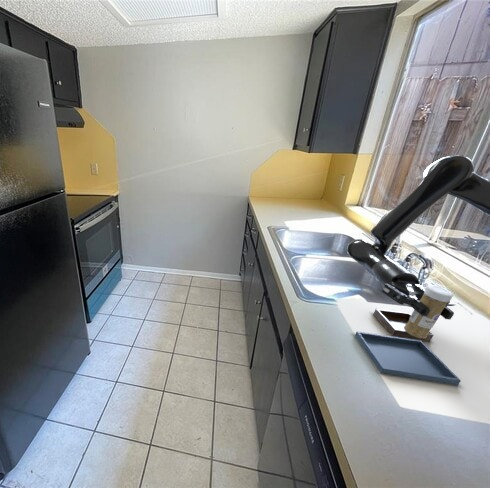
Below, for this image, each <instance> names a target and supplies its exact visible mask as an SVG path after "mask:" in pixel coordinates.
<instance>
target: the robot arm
mask: <svg viewBox="0 0 490 488" xmlns="http://www.w3.org/2000/svg"><path fill="white" fill-rule="evenodd" d="M446 195H449V196H451V197H454V198H457V199H459V200H461V201H463V202H466V203H467V204H468V205H471V206H472V207H474V208H475V209H477V210H479V211H480V212H482V213H483V214H485V215H486V216H489V217H490V180H489V179H488V178H485V177H483V176H482V175H479V174H478V173H476V172H475V164H474V162H473V160H472V159H470V158H469V157H467V156H464V155H449V156H446V157H445V156H444V157H442V158H440V159H438V160H436V161H434V162H433V163H431V164H430V165H428V166H427V167H426V169H425V170H424V172H423V180H422V181H421V182H420V183H419V185H418V186H417V187H416V188H414V190H413V191H412V192H411V193H410V194H409V195H408V196H407V197H406V198H404V199H403V200H402V201H401V202H399V204H398V205H396V206H395V207H394V208H393V209H391V210H390V211H389V212H387V214H386V215H384V217H382V219H380V220H379V221H378V222H377V223H376V224H375V225H374V226H373V228H372V229H371V230H370V235H371V236H372V237H373V238H374V239H375V240H374V242H373V244H372V243H370V242H368V241H366V240H365V239H361V238H358V239H353V240H351V241H350V242H349V243H348V244H347V247H346V253H347V255H348V257H350V258H351V259H352V260H354V261H355V262H356V263H358V264H360V265H361V266H362V267H363V268H364V269H366V271H367V272H368V273H370V275H372V276H373V278H374V279H375V281H376V282H378V283H379V284H380V286H381V287H382V289H381V291H380V292H381V293H383V294H384V295H386V296H387V297H389V299H391V300H393V301H395V302H396V303H397V304H400V305H406V306H407V307H410V308H412V309H413V310H414V309H415V310H416V311H417V312H418V313H419V314H421V315H422V316H427V315H428V314H429V312H430V309H429V308H428V307H427V306H425V305H424V304H423V303H422V302H421V301H420V300H421V298H422V296H423V295H424V291H425V289H426V287H424V286H423V285H421V283H420V281H419V278H418V276H416V275H415V274H414V273H413V272H411V271H410V270H408V268H406V267H404V266H403V265H402V264H400V263H399V262H397V261H394V259H392V258H391V257H389V256H388V255H387V252H388V251H389V249H390V247H391V246H392V244H393V243H394V241H395V240H397V238H398V237H400V236H401V235H402V234H403V233H404V232H405V231H407V229H408V228H410V226H411V225H413V224H414V223H415V222H416V221H417V220H418V219H419V218H420V217H421V216H422V215H423V214H424V213H425V212H426V211H427V210H429V209H430V208H431V207H432V206H433V205H435V204H436V203H438V201H440V200H441V199H442V198H443V197H446ZM398 297H399V298H398ZM450 303H451V300H450V301H449V302H448V303H447V304H446V306H445V307H444V309H443V311H442V312H441V314H440V316H441V317H442V318H443V319H445V320H451V319H452V318H453V317H454V315H455V312H454V311H453V310H451V309H450V308H449V307H448V305H449V304H450Z"/></svg>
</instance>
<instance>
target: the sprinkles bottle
mask: <svg viewBox="0 0 490 488" xmlns="http://www.w3.org/2000/svg"><path fill="white" fill-rule="evenodd" d="M425 288H426V289H425V291H424V295H423V296H422V298H421V300H420V301H421V302H422V303H423V304H424V305H425V306H427V307H428V308H429V309H430V312H429V314H428V315H427V316H422V315H421V314H419V313H418V312H417V311H416V310H415V309H413V311H412V313H411V316H410V318H409V321H408V323H407V324H406V325H405V326H404V329H405V331H406V332H407V333H409V334H410V335H412V336H414V337H417V338H426V337H427V335H428V333H429V331H430V332H431V330H432V328H433V327H434V326H435V324H436V323H437V321H438V319H439V318H440V316H441V315H440V314H441V312H442V311H443V309H444V307H445V306H446V304H447V303H448V302H449V301H450V302H451V300H452V298H453V297H454V293H453V292H452V291H450V290H449V289H447V288H445V287H442V286H439V285H435V284H429V285H427V286H426V287H425Z"/></svg>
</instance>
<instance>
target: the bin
mask: <svg viewBox="0 0 490 488" xmlns="http://www.w3.org/2000/svg"><path fill="white" fill-rule="evenodd" d="M372 315H373V316H374V317H375V319H377V321H378V322H379V323H380V324H381V325H382V327H384V329H385V330H386V331H387V333H388V334H389V335H390V336H392V337H399V338H406V339H413V340H420V341H422V342H430V343H431V341H432V340H433V337H434V334H433V332H431V330H430V331H429V333H428V335H427V337H426V338H417V337H414V336H412V335H410V334H409V333H407V332H406V331H405V329H404V326H405V325H406V324H407V323H408V321H409V318H410V316H411V315H412V313H410V312H405V311H403V312H402V311H398V310H397V311H396V310H390V309H389V310H388V309H381V308H375V309H374V311H373V314H372Z"/></svg>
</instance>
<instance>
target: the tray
mask: <svg viewBox="0 0 490 488" xmlns="http://www.w3.org/2000/svg"><path fill="white" fill-rule="evenodd" d="M354 337H355V339H356V340H357V341H358V343H359V344H360V345H361V348H362V349H363V351H365V353H366V354H367V356H368V357H369V359H370V360H371V362H372V363H373V365H374V366H375V367H376V369H377V370H378V372H379V373H380V374H383V375H390V376H396V377H400V378H406V379H407V378H408V379H414V380H419V381H426V382H431V383H437V384H444V385H451V386H459V385H460V383H461V382H462V380H461V379H460V378H459V377H458V376H457V375H456V374H455V373H454V372H453V371H452V370H451V369H450V368H449V367H448V366H447V365H446V364H445V363H444V362H443V361H442V360H441V359H440V358H439V357H438V356H437V355H436V353H434V352H433V351H432V349H430V348H429V347H428V346H427V344H426V343H424V341H422V340H415V339H408V338H401V337H394V336H392V335H384V334H377V333H371V332H364V331H363V332H362V331H356V332H355V334H354Z"/></svg>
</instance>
